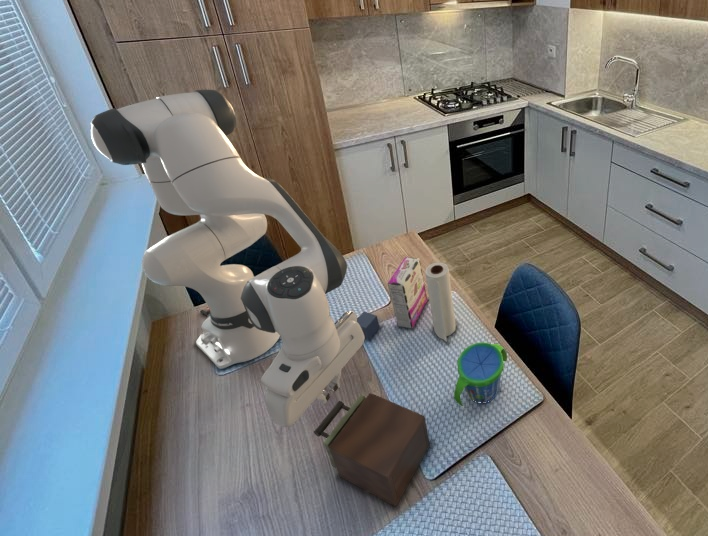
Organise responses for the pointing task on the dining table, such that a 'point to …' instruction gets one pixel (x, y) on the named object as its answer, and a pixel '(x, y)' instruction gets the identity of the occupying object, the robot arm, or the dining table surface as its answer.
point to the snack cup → (480, 372)
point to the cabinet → (381, 448)
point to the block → (368, 324)
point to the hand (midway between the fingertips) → (329, 394)
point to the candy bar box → (407, 292)
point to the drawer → (329, 418)
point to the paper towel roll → (440, 299)
